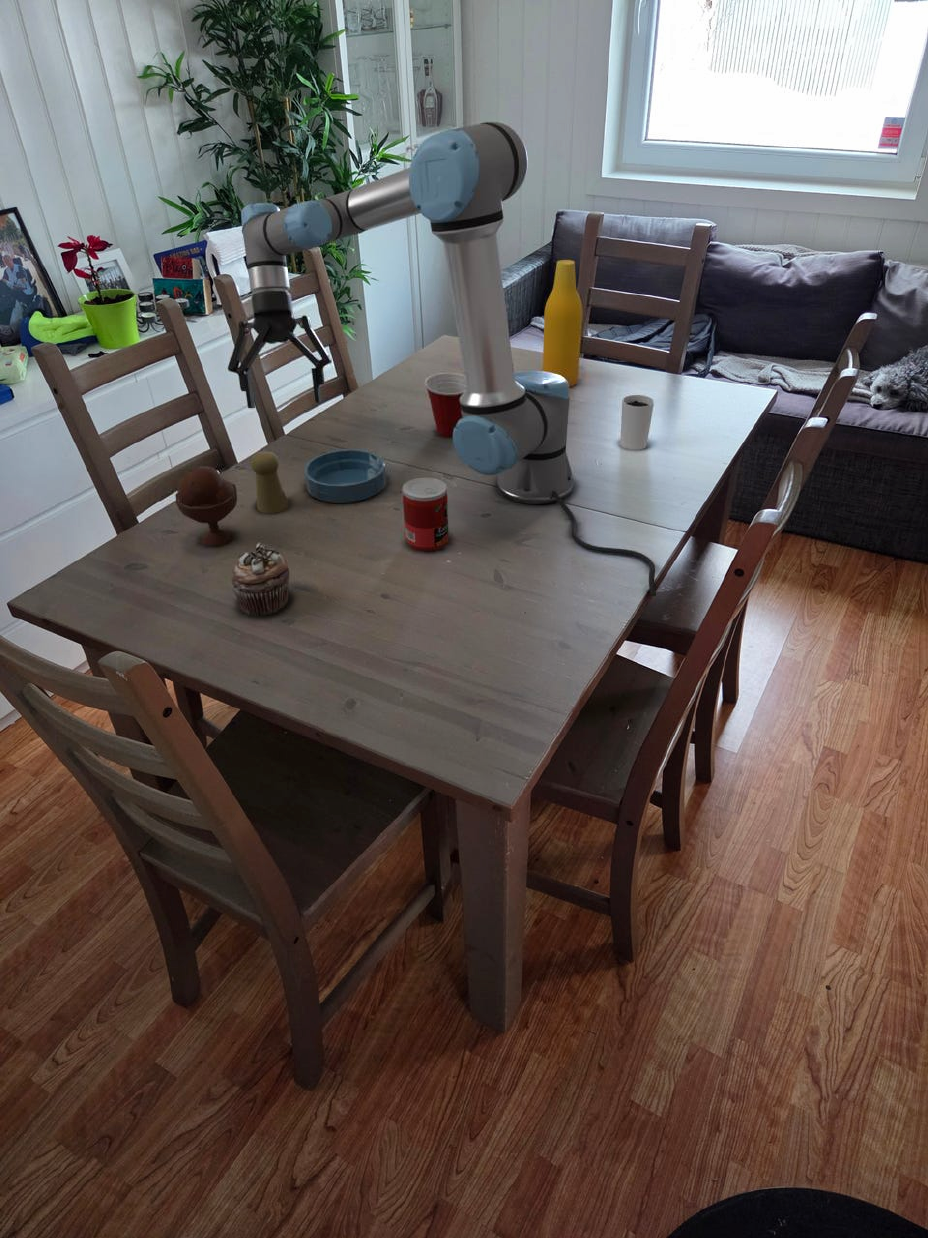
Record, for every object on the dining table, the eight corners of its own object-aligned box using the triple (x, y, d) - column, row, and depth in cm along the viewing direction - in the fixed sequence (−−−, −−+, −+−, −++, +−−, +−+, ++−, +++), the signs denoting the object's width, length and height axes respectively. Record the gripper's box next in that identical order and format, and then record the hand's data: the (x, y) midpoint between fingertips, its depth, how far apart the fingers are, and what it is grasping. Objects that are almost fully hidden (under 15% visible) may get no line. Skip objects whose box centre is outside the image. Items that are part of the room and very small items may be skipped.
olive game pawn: (258, 499, 168) (249, 448, 161) (289, 497, 168) (281, 446, 161) (255, 514, 163) (245, 462, 156) (286, 512, 163) (278, 460, 156)
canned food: (444, 553, 150) (442, 499, 143) (401, 549, 151) (396, 495, 145) (453, 531, 156) (451, 478, 149) (411, 528, 157) (408, 475, 151)
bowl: (398, 491, 169) (397, 473, 167) (322, 511, 163) (320, 493, 161) (368, 460, 180) (366, 443, 178) (296, 477, 175) (293, 460, 172)
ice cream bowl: (256, 528, 158) (242, 455, 149) (225, 558, 150) (207, 484, 141) (208, 520, 161) (191, 448, 152) (174, 549, 153) (154, 475, 144)
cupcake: (261, 579, 145) (251, 529, 138) (305, 595, 141) (297, 544, 134) (222, 608, 138) (210, 557, 132) (267, 625, 134) (257, 573, 128)
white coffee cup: (611, 443, 185) (615, 399, 179) (633, 435, 188) (637, 392, 182) (633, 453, 180) (638, 409, 174) (655, 445, 183) (660, 401, 177)
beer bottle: (539, 387, 211) (543, 266, 194) (544, 373, 218) (549, 256, 201) (575, 389, 210) (583, 267, 192) (580, 376, 217) (587, 257, 199)
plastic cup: (446, 446, 185) (444, 394, 178) (417, 431, 192) (414, 380, 185) (483, 432, 190) (483, 381, 183) (454, 418, 197) (453, 368, 190)
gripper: (337, 289, 165) (349, 400, 170) (213, 301, 167) (229, 410, 171) (330, 283, 158) (343, 399, 163) (201, 295, 159) (217, 410, 164)
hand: (285, 405), depth 167 cm, fingers open, 13 cm apart
